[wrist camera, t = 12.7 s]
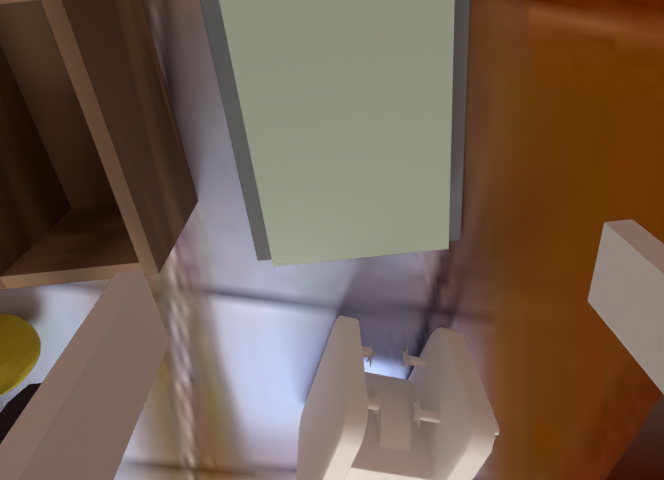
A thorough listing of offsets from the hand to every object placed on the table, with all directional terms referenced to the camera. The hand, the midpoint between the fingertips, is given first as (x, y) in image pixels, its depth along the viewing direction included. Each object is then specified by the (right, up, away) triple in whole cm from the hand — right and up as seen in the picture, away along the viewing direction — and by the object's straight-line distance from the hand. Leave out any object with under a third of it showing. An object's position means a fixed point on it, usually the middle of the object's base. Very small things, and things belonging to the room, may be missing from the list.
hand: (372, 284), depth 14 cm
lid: (0, +9, +16) cm, 18 cm away
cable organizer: (+3, -10, +28) cm, 30 cm away
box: (-16, +10, +16) cm, 24 cm away
